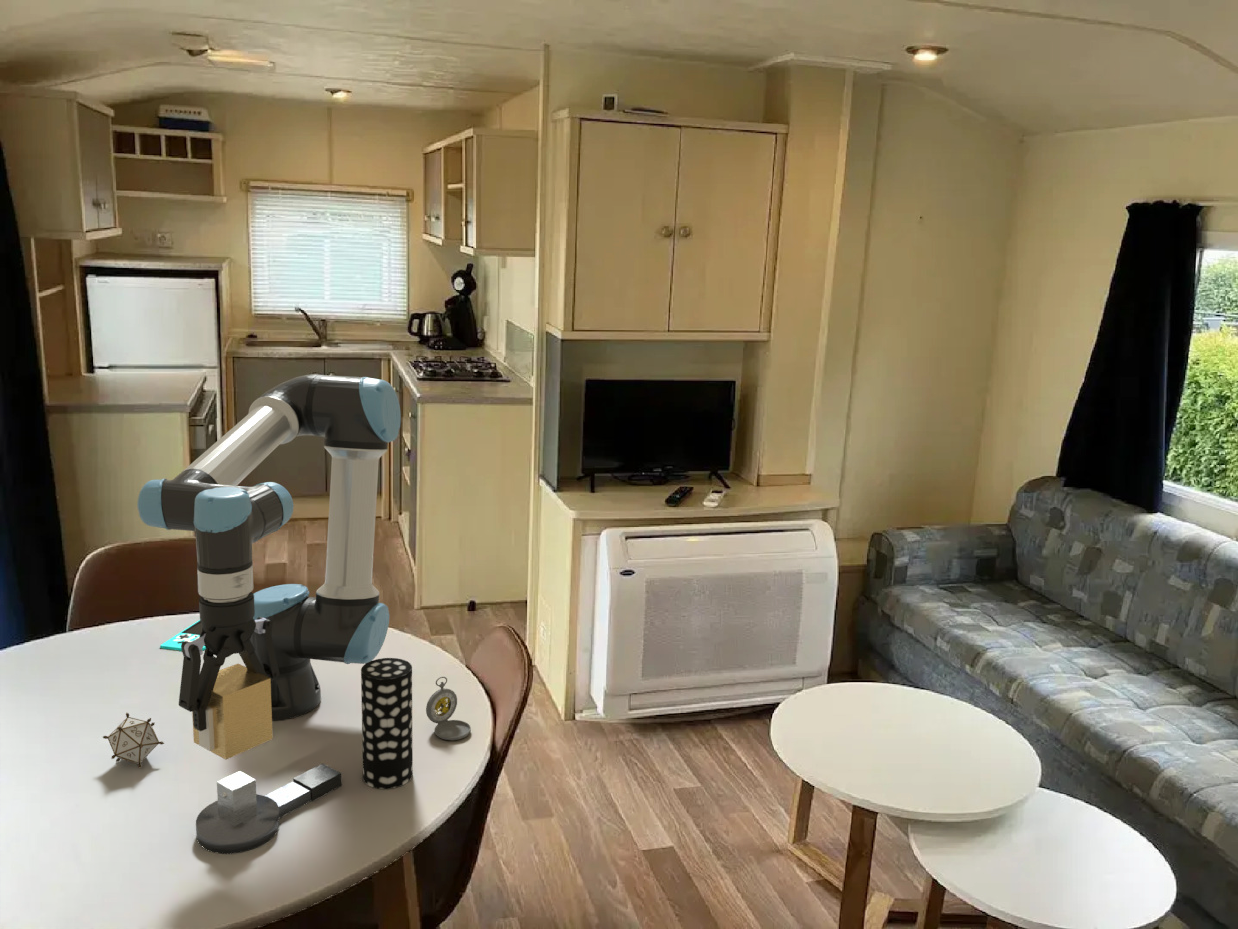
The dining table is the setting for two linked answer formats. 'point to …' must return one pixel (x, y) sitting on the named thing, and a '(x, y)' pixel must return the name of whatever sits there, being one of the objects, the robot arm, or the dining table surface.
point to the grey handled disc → (257, 809)
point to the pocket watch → (446, 714)
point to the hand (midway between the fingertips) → (233, 736)
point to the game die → (133, 740)
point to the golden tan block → (239, 711)
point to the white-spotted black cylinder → (387, 722)
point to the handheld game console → (184, 637)
